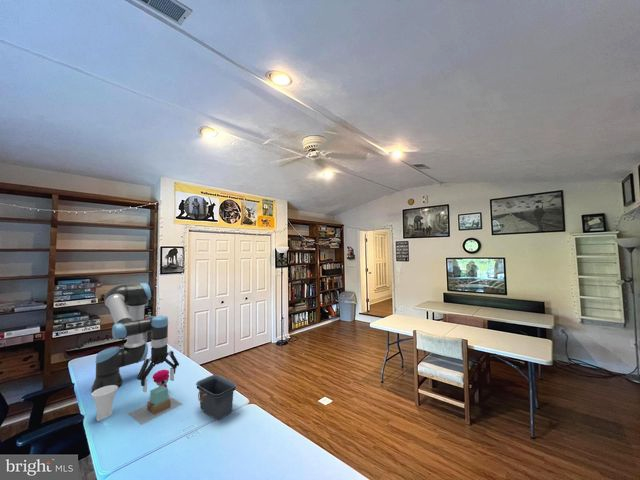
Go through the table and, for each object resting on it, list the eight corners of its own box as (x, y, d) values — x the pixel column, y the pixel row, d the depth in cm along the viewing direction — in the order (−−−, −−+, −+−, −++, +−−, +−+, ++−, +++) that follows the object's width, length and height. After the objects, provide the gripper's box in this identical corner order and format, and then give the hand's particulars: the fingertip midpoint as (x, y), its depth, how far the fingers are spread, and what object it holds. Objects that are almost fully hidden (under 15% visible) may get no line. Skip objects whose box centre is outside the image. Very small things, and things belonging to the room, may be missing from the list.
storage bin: (239, 411, 135) (239, 383, 136) (212, 428, 123) (212, 397, 123) (216, 398, 148) (216, 373, 148) (189, 412, 135) (189, 384, 136)
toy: (161, 401, 146) (161, 374, 146) (148, 400, 147) (149, 373, 148) (172, 393, 154) (172, 368, 155) (160, 392, 156) (161, 367, 156)
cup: (87, 426, 126) (88, 398, 126) (94, 414, 135) (95, 388, 136) (114, 419, 131) (115, 392, 131) (119, 408, 140) (119, 383, 140)
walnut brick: (147, 409, 137) (147, 402, 137) (163, 402, 143) (163, 395, 143) (154, 414, 132) (154, 406, 132) (170, 406, 139) (170, 399, 139)
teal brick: (150, 401, 137) (150, 390, 137) (162, 396, 142) (162, 385, 142) (155, 405, 134) (155, 393, 134) (167, 399, 139) (167, 388, 139)
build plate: (127, 415, 134) (127, 413, 134) (168, 397, 150) (168, 395, 150) (141, 426, 125) (141, 424, 125) (182, 405, 141) (182, 404, 141)
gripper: (135, 355, 127) (135, 399, 126) (186, 340, 148) (185, 377, 147) (129, 351, 131) (128, 394, 130) (179, 337, 152) (178, 374, 151)
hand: (158, 385), depth 139 cm, fingers open, 13 cm apart
